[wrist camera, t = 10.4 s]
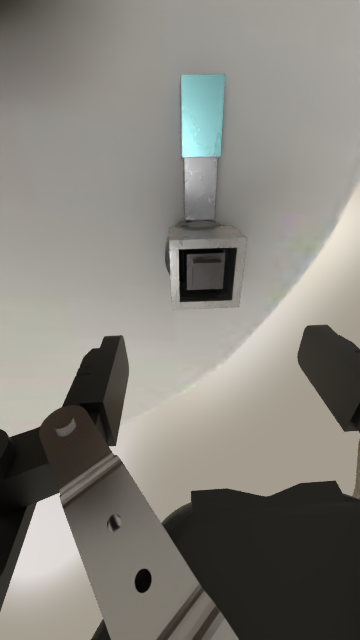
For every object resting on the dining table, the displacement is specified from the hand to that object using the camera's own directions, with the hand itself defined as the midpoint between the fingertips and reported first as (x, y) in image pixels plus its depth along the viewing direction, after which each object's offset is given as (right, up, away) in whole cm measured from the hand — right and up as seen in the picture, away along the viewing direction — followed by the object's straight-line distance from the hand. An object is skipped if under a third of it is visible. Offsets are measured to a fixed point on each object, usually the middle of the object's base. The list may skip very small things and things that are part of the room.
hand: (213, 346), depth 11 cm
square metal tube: (0, +7, +14) cm, 15 cm away
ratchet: (0, +13, +14) cm, 19 cm away
